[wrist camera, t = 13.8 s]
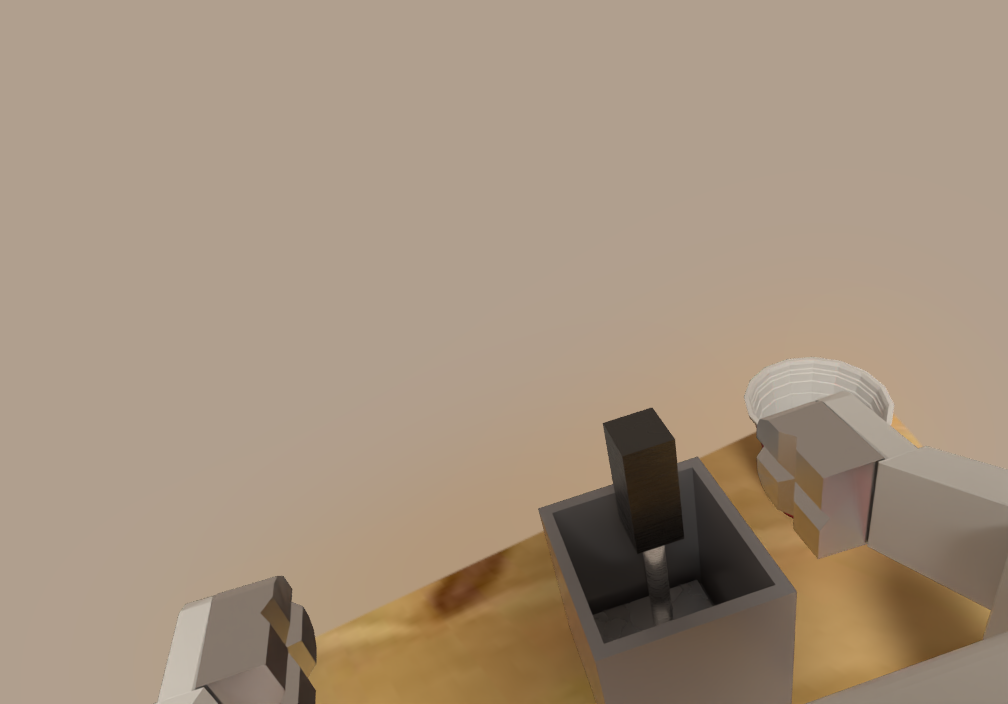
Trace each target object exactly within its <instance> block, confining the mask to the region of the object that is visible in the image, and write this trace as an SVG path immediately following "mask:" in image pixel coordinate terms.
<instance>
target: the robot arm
mask: <svg viewBox="0 0 1008 704" xmlns="http://www.w3.org/2000/svg"><path fill="white" fill-rule="evenodd" d="M757 438H758V440H759V441H760V442H761V443H762V444H763V445H764V447H763V448H762V450H761V451H760V453H759V454H758V456H757V472H758V475H759V478H760V481H761V484H762V487H763V489H764V491H765V492H766V494H767V496H768V498H769V499H770V500H771V502H772V503H773V504H774V506H775V507H776V508H777V509H778V510H780V511H783V512H785V513H787V514H790V515H792V516H794V518H793V529H794V530H795V532H796V533H797V534H798V535H799V537H800V538H801V539H802V540H803V541H804V543H805V544H806V545H807V546H808V548H809V549H810V550H811V551H812V552H813V554H814V555H815V556H816V557H817V559H820V558H823V557H826V556H830V555H833V554H836V553H839V552H842V551H846V550H849V549H852V548H855V547H858V546H862V545H865V544H868V547H870V548H872V549H874V550H875V551H877V552H879V553H881V554H883V555H885V556H887V557H889V558H891V559H893V560H895V561H897V562H899V563H901V564H903V565H905V566H906V567H908V568H910V569H912V570H914V571H916V572H918V573H920V574H922V575H924V576H926V577H928V578H930V579H932V580H934V581H935V582H937V583H939V584H941V585H943V586H945V587H947V588H949V589H951V590H953V591H955V592H957V593H959V594H961V595H963V596H965V597H966V598H968V599H970V600H972V601H974V602H976V603H978V604H980V605H982V606H984V607H986V608H988V609H990V610H991V612H990V616H989V619H988V622H987V625H986V629H985V632H984V636H983V640H981V641H979V642H976V643H973V644H970V645H968V646H965V647H962V648H959V649H956V650H954V651H951V652H948V653H945V654H942V655H940V656H937V657H934V658H931V659H929V660H926V661H923V662H920V663H917V664H915V665H912V666H909V667H906V668H903V669H901V670H898V671H895V672H892V673H890V674H887V675H884V676H881V677H878V678H876V679H873V680H870V681H867V682H864V683H862V684H859V685H856V686H853V687H851V688H848V689H845V690H842V691H839V692H837V693H834V694H831V695H828V696H825V697H823V698H820V699H817V700H814V701H811V702H809V703H806V704H1008V470H1007V469H1004V468H1000V467H997V466H993V465H990V464H987V463H983V462H980V461H977V460H973V459H970V458H966V457H962V456H959V455H956V454H952V453H949V452H946V451H942V450H939V449H935V448H932V447H929V446H925V447H921V448H917V447H916V446H915V445H913V444H912V443H911V442H910V441H908V440H907V439H906V438H905V437H904V436H902V435H901V434H900V433H899V432H898V431H896V430H895V429H894V428H893V427H891V426H890V425H889V424H888V423H887V422H885V421H884V420H883V419H882V418H881V417H879V416H878V415H877V414H876V413H874V412H873V411H872V410H871V409H870V408H868V407H867V406H866V405H865V404H864V403H862V402H861V401H860V400H859V399H857V398H856V397H855V396H854V395H853V394H851V393H849V392H846V391H841V392H838V393H835V394H832V395H830V396H827V397H824V398H821V399H818V400H815V401H814V402H809V403H806V404H803V405H800V406H797V407H794V408H791V409H788V410H785V411H782V412H779V413H776V414H773V415H770V416H767V417H764V418H761V419H759V422H758V424H757ZM291 600H292V588H291V586H290V585H289V584H288V582H287V581H286V579H285V578H284V576H275V577H272V578H269V579H265V580H262V581H259V582H255V583H252V584H249V585H245V586H242V587H239V588H236V589H232V590H229V591H225V592H222V593H219V594H217V595H214V596H211V597H207V598H204V599H201V600H197V601H194V602H191V603H187V604H185V606H184V607H183V608H182V610H181V611H180V613H179V615H178V619H177V623H176V627H175V631H174V635H173V639H172V644H171V648H170V652H169V656H168V660H167V664H166V668H165V673H164V677H163V680H162V684H161V689H160V693H159V697H158V701H157V703H155V704H315V695H316V690H315V689H314V687H313V686H312V684H311V683H310V681H309V680H308V677H309V675H310V674H311V672H312V670H313V669H314V667H315V666H316V649H317V647H316V641H315V635H314V629H313V626H312V624H311V621H310V618H309V616H308V614H307V612H306V611H305V609H304V607H303V606H301V605H298V604H296V603H293V602H291Z"/></svg>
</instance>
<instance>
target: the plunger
mask: <svg viewBox="0 0 1008 704" xmlns="http://www.w3.org/2000/svg"><path fill="white" fill-rule="evenodd" d="M603 426H604V433H605V439H606V444H607V450H608V456H609V462H610V468H611V474H612V480H613V485H614V491H615V497H616V503H617V509H618V515H619V519H620V521H621V523H622V525H623V527H624V529H625V531H626V533H627V535H628V537H629V539H630V541H631V543H632V545H633V547H634V549H635V551H636V553H637V554H640V553H643V557H644V564H645V571H646V577H647V584H648V591H649V596H647V597H644V598H641V599H638V600H635V601H632V602H630V603H627V604H624V605H621V606H618V607H615V608H612V609H609V610H606V611H603V612H600V613H597V614H594V615H593V618H594V620H595V623H596V625H597V628H598V630H599V633H600V635H601V638H602V641H603V643H604V644H605V643H608V642H611V641H614V640H617V639H620V638H623V637H626V636H629V635H631V634H634V633H637V632H640V631H643V630H646V629H649V628H652V627H655V626H658V625H661V624H663V623H666V622H669V621H672V620H675V619H678V618H681V617H684V616H687V615H690V614H692V613H695V612H698V611H701V610H704V609H707V608H710V607H713V606H712V604H711V603H710V601H709V599H708V597H707V596H706V594H705V592H704V591H703V589H702V587H701V586H700V584H699V582H698V580H694V581H691V582H688V583H685V584H682V585H679V586H677V587H674V588H671V589H670V587H669V579H668V570H667V562H666V554H665V545H667V544H670V543H673V542H676V541H679V540H681V539H684V530H683V520H682V509H681V499H680V488H679V477H678V467H677V457H676V446H675V439H674V437H673V436H672V435H671V433H670V432H669V430H668V429H667V428H666V426H665V425H664V423H663V422H662V421H661V419H660V418H659V416H658V415H657V414H656V412H655V411H654V409H653V408H649V409H646V410H643V411H640V412H636V413H633V414H630V415H627V416H624V417H621V418H618V419H615V420H612V421H608V422H605V423H603Z"/></svg>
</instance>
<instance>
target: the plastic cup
mask: <svg viewBox="0 0 1008 704" xmlns="http://www.w3.org/2000/svg"><path fill="white" fill-rule="evenodd" d="M841 391H846V392H849V393H851V394H853V395H854V396H855V397H856V398H857V399H859V400H860V401H861V402H862V403H864V404H865V405H866V406H867V407H868V408H870V409H871V410H872V411H873V412H874V413H876V414H877V415H878V416H879V417H881V418H882V419H883V420H884V421H885V422H887V423H888V424H889V425H891V424H892V417H893V410H894V403H893V401H892V399H891V397H890V395H889V393H888V391H887V389H886V387H885V386H884V385H883V384H882V383H880V382H879V381H878V380H876V379H875V378H874V377H873V376H872V375H870V374H869V373H868V372H866V371H865V370H862V369H860V368H857V367H855V366H852V365H850V364H847V363H845V362H842V361H838V360H830V359H824V358H817V357H808V358H797V359H786V360H784V361H781V362H778V363H776V364H773V365H770V366H767V367H765V368H764V369H763V370H762V371H760V372H759V373H758V374H757V375H756V376H755V377H753V378H752V379H751V380H750V382H749V385H748V388H747V390H746V393H745V395H744V399H745V403H746V406H747V410H748V414H749V417H750V419H751V420H752V421H753V422H754V423H755V425H756V428H757V424H758V422H759V419H761V418H764V417H767V416H770V415H773V414H776V413H779V412H782V411H785V410H788V409H791V408H794V407H797V406H800V405H803V404H806V403H809V402H814V401H815V400H818V399H821V398H824V397H827V396H830V395H832V394H835V393H838V392H841ZM761 445H762V448H763V447H764V445H763V444H762V443H761ZM784 513H785V512H784ZM785 514H786V515H788V516H790V517H792V518H794V516H792V515H790V514H787V513H785Z"/></svg>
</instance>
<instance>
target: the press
mask: <svg viewBox="0 0 1008 704" xmlns="http://www.w3.org/2000/svg"><path fill="white" fill-rule="evenodd" d="M677 467H678V477H679V488H680V499H681V509H682V520H683V530H684V539H681V540H679V541H676V542H673V543H670V544H667V545H665V554H666V562H667V570H668V579H669V587H670V589H671V588H674V587H677V586H679V585H682V584H685V583H688V582H691V581H694V580H698V582H699V584H700V586H701V587H702V589H703V591H704V592H705V594H706V596H707V597H708V599H709V601H710V603H711V604H712V606H713V607H710V608H707V609H704V610H701V611H698V612H695V613H692V614H690V615H687V616H684V617H681V618H678V619H675V620H672V621H669V622H666V623H663V624H661V625H658V626H655V627H652V628H649V629H646V630H643V631H640V632H637V633H634V634H631V635H629V636H626V637H623V638H620V639H617V640H614V641H611V642H608V643H605V644H604V643H603V641H602V638H601V635H600V633H599V630H598V628H597V625H596V623H595V620H594V618H593V615H594V614H597V613H600V612H603V611H606V610H609V609H612V608H615V607H618V606H621V605H624V604H627V603H630V602H632V601H635V600H638V599H641V598H644V597H647V596H649V591H648V584H647V577H646V571H645V564H644V557H643V553H640V554H637V553H636V551H635V549H634V547H633V545H632V543H631V541H630V539H629V537H628V535H627V533H626V531H625V529H624V527H623V525H622V523H621V521H620V519H619V515H618V509H617V503H616V497H615V491H614V485H613V484H612V485H609V486H606V487H603V488H600V489H597V490H594V491H591V492H588V493H585V494H582V495H579V496H576V497H572V498H570V499H566V500H563V501H560V502H557V503H554V504H551V505H548V506H545V507H542V508H539V509H538V510H539V514H540V517H541V521H542V525H543V529H544V532H545V536H546V540H547V544H548V548H549V551H550V555H551V559H552V563H553V566H554V570H555V574H556V578H557V582H558V585H559V589H560V593H561V597H562V600H563V604H564V608H565V612H566V616H567V619H568V623H569V627H570V630H571V632H572V635H573V638H574V641H575V644H576V647H577V649H578V652H579V655H580V658H581V661H582V664H583V666H584V669H585V672H586V675H587V678H588V680H589V683H590V686H591V689H592V692H593V695H594V697H595V700H596V703H597V704H792V683H793V662H794V641H795V620H796V599H797V591H796V590H795V588H794V587H793V586H792V584H791V583H790V582H789V580H788V579H787V578H786V576H785V575H784V573H783V572H782V571H781V569H780V568H779V567H778V565H777V564H776V563H775V561H774V560H773V558H772V557H771V556H770V554H769V553H768V552H767V550H766V549H765V548H764V546H763V545H762V543H761V542H760V541H759V539H758V538H757V537H756V535H755V534H754V533H753V531H752V530H751V528H750V527H749V526H748V524H747V523H746V522H745V520H744V519H743V518H742V516H741V515H740V513H739V512H738V511H737V509H736V508H735V507H734V505H733V504H732V503H731V501H730V500H729V498H728V497H727V496H726V494H725V493H724V492H723V490H722V489H721V488H720V486H719V485H718V483H717V482H716V481H715V479H714V478H713V477H712V475H711V474H710V473H709V471H708V470H707V468H706V467H705V466H704V464H703V463H702V462H701V460H700V459H699V458H698V457H695V458H692V459H689V460H686V461H683V462H680V463H677Z"/></svg>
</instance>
